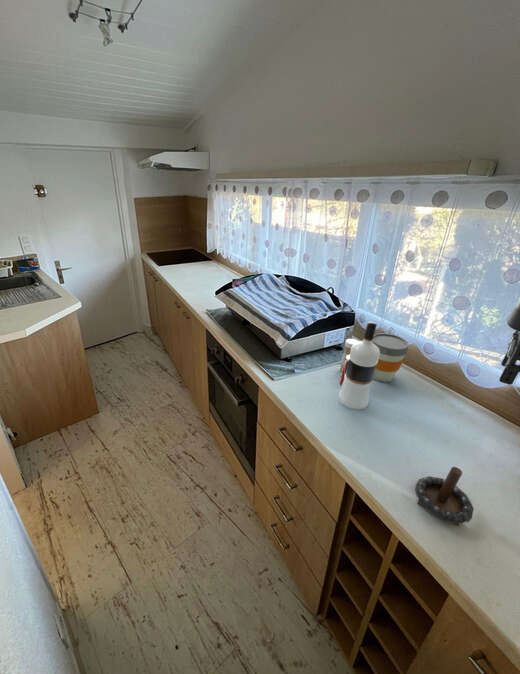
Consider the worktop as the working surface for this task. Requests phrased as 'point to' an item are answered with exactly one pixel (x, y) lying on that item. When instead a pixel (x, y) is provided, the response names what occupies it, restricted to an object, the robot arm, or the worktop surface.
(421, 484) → the ring
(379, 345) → the reusable coffee cup
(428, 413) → the worktop surface
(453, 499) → the post
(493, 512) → the worktop surface
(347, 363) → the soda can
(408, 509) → the worktop surface
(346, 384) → the vodka
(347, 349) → the sprinkles bottle
